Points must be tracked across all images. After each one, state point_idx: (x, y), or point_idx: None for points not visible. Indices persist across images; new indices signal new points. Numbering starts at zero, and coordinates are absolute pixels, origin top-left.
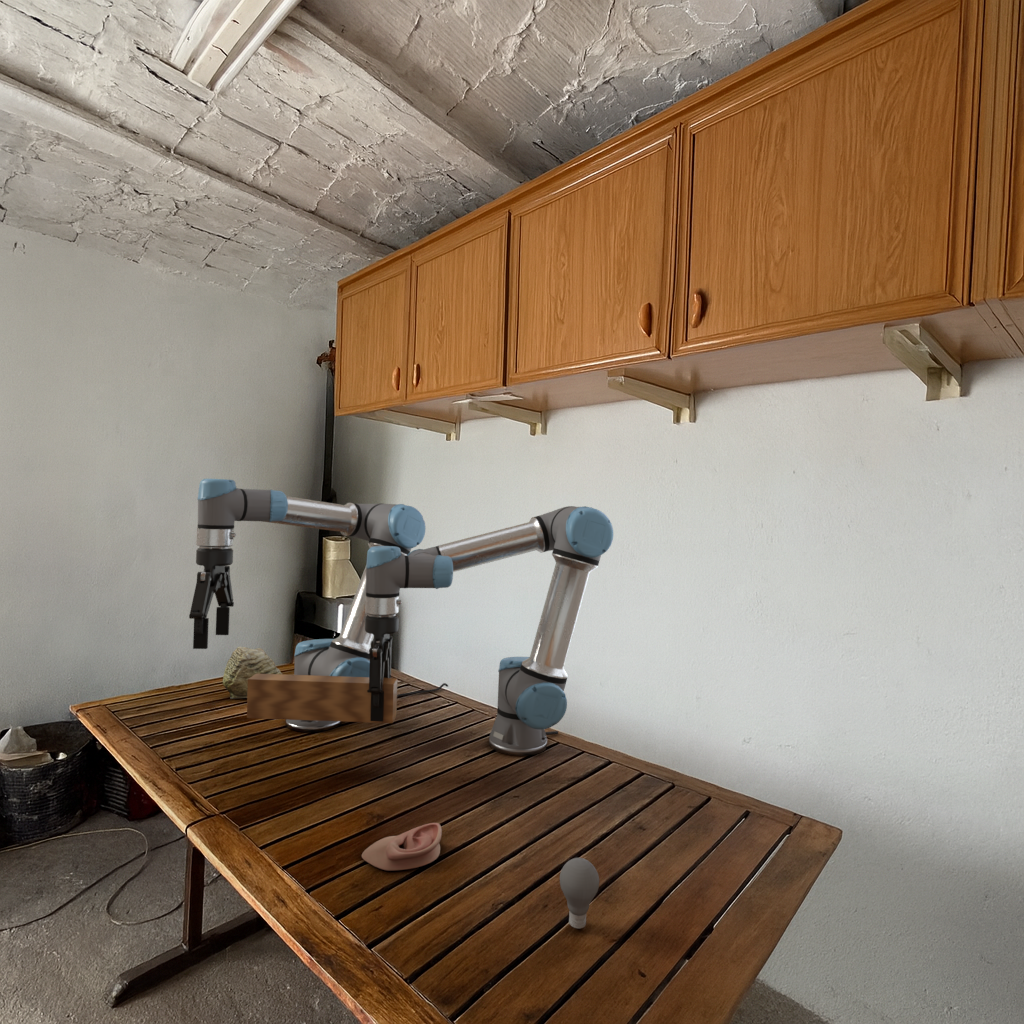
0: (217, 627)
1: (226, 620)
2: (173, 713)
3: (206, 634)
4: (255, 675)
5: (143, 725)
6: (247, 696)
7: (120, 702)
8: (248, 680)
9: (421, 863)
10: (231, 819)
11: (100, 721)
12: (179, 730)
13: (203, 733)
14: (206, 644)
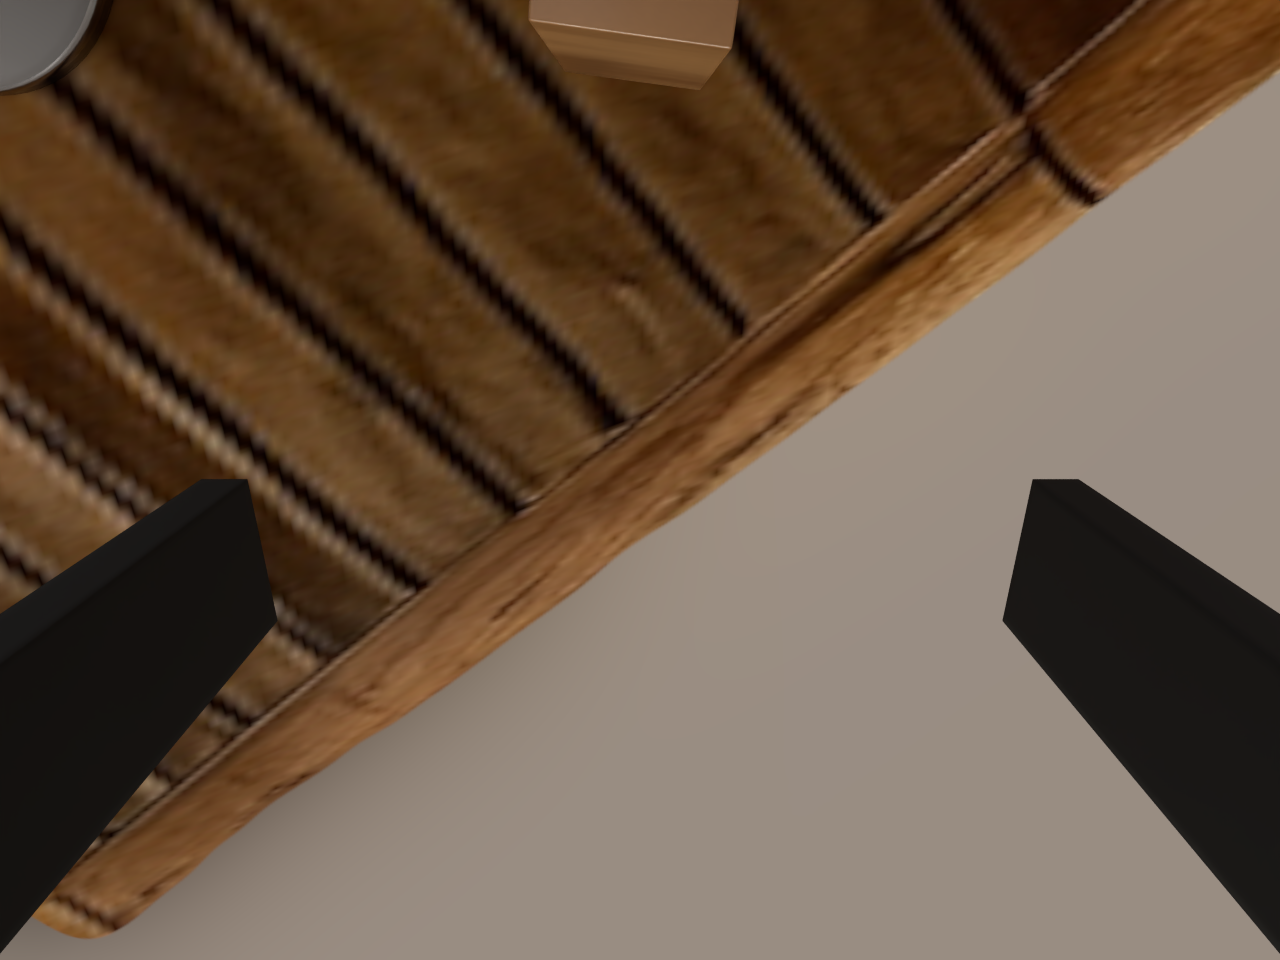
0: (220, 664)
1: (111, 613)
2: None
3: (1219, 576)
4: (602, 4)
5: None
6: (715, 69)
7: None
8: (732, 41)
9: None
10: (1084, 45)
11: (209, 832)
12: None
13: (244, 457)
14: (1111, 502)
